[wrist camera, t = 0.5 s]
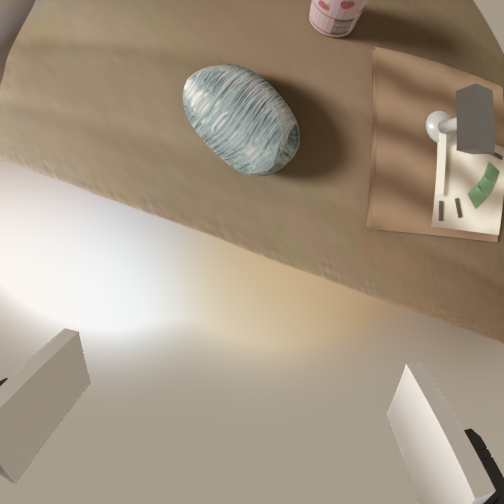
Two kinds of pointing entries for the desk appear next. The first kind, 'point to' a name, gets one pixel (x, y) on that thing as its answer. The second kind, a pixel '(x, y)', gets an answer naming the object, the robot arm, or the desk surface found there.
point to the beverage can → (335, 16)
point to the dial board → (429, 154)
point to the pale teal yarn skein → (241, 118)
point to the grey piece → (463, 127)
